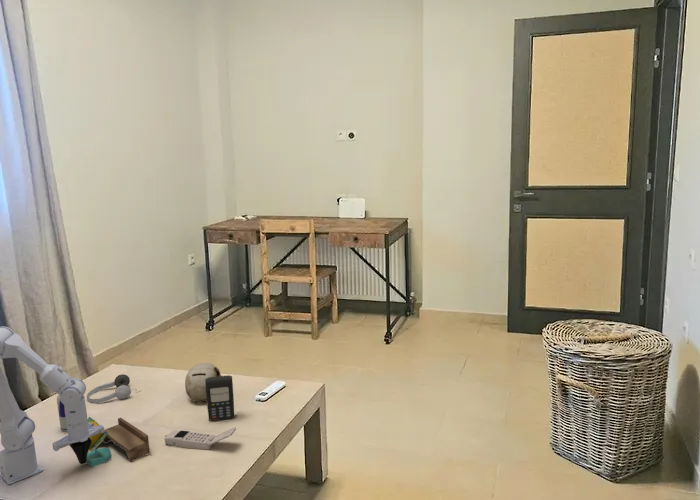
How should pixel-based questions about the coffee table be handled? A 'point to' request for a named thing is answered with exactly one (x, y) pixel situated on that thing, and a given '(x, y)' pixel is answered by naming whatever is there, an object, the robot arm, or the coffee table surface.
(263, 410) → the coffee table surface
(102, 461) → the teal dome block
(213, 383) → the card reader
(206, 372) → the coin bank
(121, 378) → the headphones
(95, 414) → the coffee table surface
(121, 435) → the brown ledge shelf
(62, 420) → the energy drink
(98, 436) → the crayon box
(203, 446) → the mobile phone
